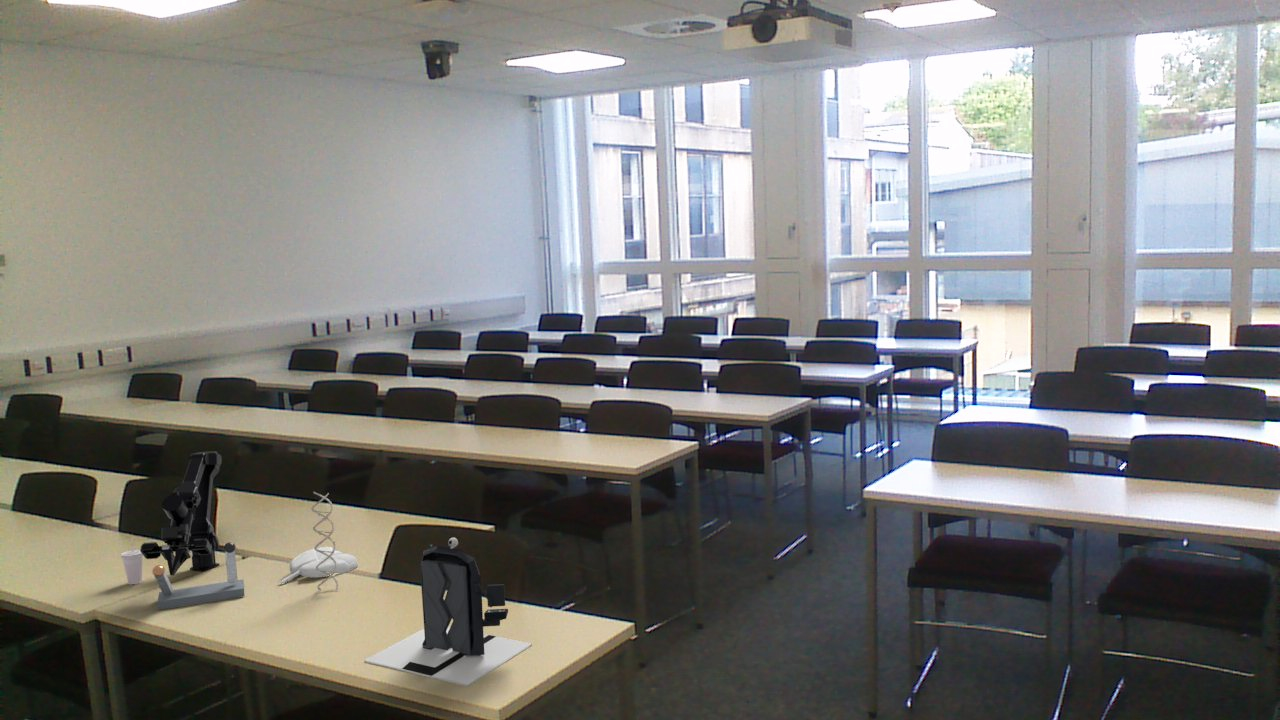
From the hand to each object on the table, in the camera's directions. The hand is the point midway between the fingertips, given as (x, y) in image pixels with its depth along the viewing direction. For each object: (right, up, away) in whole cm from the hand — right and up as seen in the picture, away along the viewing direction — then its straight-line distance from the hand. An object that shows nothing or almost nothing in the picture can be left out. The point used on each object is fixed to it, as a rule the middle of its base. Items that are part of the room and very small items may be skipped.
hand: (171, 574), depth 284 cm
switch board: (+9, -7, +1) cm, 11 cm away
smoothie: (-20, -7, +17) cm, 27 cm away
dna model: (+45, -6, +4) cm, 45 cm away
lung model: (+35, -5, +21) cm, 41 cm away
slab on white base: (+91, -10, -45) cm, 102 cm away
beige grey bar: (+16, -4, +4) cm, 17 cm away
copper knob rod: (+1, -5, -3) cm, 6 cm away
